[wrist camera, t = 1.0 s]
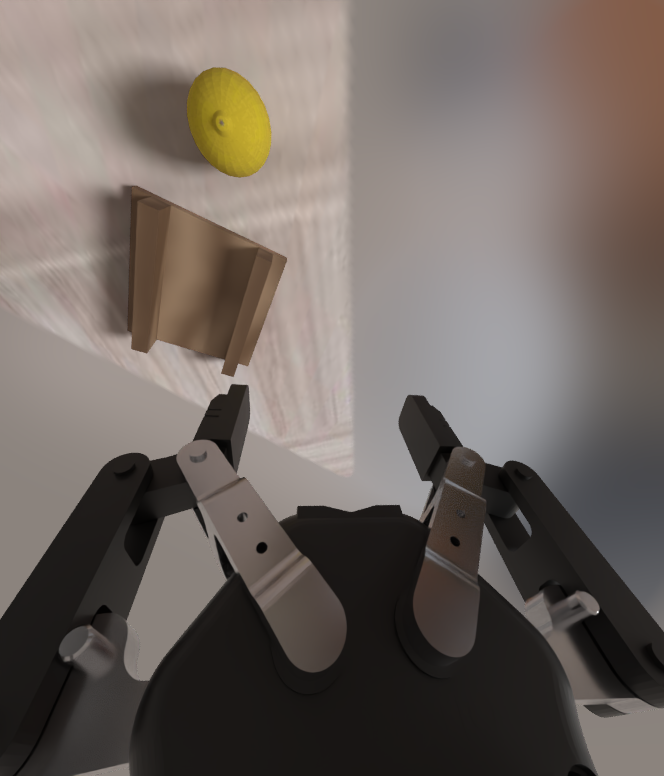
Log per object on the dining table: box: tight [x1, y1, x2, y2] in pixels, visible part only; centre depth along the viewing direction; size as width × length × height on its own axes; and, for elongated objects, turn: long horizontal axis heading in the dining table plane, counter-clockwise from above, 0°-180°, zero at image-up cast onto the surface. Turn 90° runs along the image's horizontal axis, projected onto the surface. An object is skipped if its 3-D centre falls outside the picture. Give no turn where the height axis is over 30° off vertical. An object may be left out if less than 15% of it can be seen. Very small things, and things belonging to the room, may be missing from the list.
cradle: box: [128, 186, 287, 377], centre depth 29 cm, size 14×15×4 cm
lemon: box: [187, 68, 271, 177], centre depth 19 cm, size 6×6×8 cm
